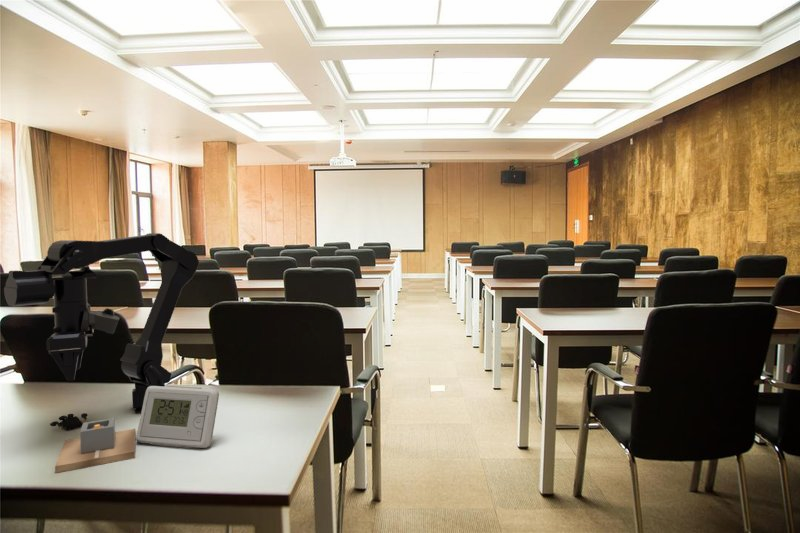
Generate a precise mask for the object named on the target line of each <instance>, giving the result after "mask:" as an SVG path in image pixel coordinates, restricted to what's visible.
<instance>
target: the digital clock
mask: <svg viewBox="0 0 800 533" xmlns="http://www.w3.org/2000/svg"><path fill="white" fill-rule="evenodd" d="M219 396H220V393H219V391H218V390H216V389H211V388H210V389H209V388H202V387H193V386H192V387H190V386H176V385H175V386H173V385H165V387H164V386H149V387H148V388H147V390H146V393H145V397H144V402H143V407H142V412H141V413H140V417H139V421H138V427H137V431H136V441H137V442H138V443H139V444H140V443H141V444H151V445H152V446H160V447H161V446H163V447H173V448H174V447H175V448H186V449H193V448H199V449H200V448H201V449H207V448H208V447H210V446H211V444H212V440H213V435H214V428H215V423H216V417H217V411H218V404H219V399H220V398H219Z"/></svg>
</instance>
